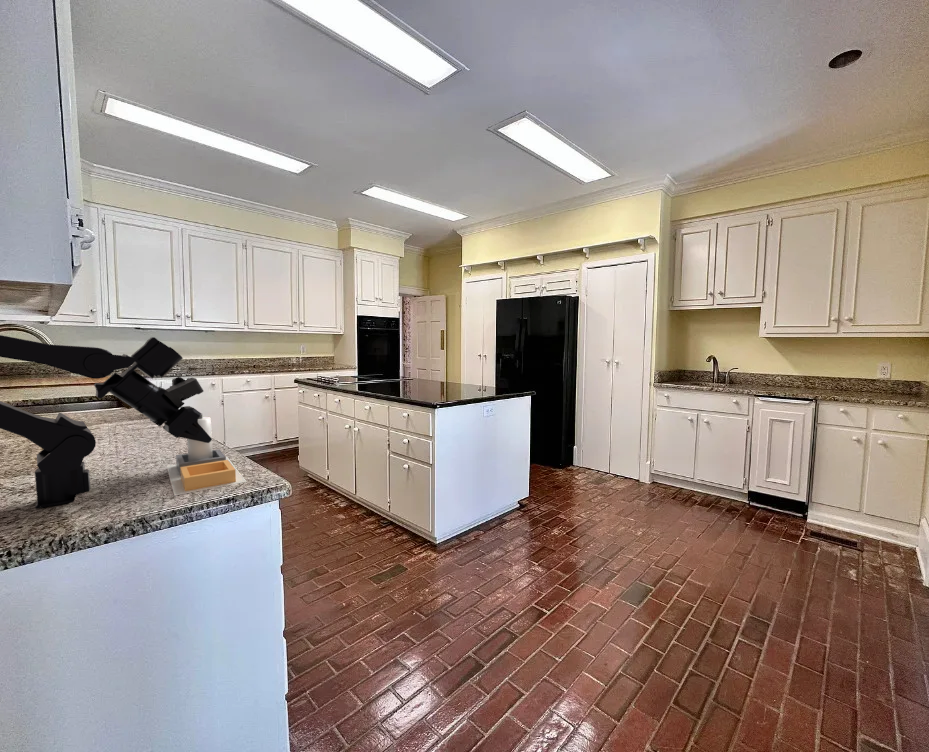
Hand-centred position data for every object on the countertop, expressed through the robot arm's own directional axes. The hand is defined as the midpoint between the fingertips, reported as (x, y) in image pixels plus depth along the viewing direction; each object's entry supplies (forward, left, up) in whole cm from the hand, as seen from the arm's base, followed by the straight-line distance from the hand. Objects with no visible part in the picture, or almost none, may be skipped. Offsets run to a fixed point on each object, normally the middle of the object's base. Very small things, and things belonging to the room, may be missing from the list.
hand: (206, 439), depth 92 cm
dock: (-1, -6, -7) cm, 9 cm away
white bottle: (-1, 0, -6) cm, 6 cm away
